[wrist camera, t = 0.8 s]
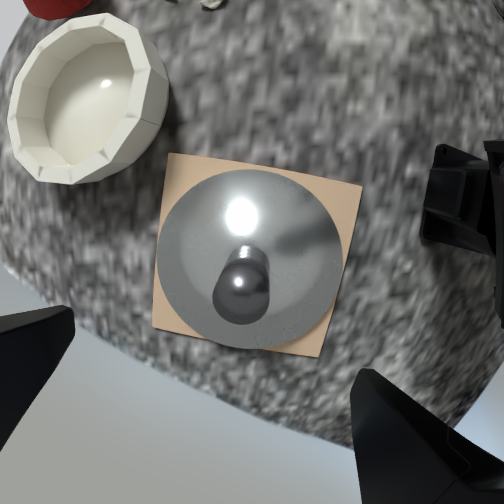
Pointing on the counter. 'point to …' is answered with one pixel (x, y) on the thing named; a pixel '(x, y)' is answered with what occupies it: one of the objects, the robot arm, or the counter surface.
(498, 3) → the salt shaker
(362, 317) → the counter surface
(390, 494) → the robot arm
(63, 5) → the onion
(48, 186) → the counter surface
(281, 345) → the mat
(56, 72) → the bowl
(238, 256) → the lid
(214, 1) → the tweezers
